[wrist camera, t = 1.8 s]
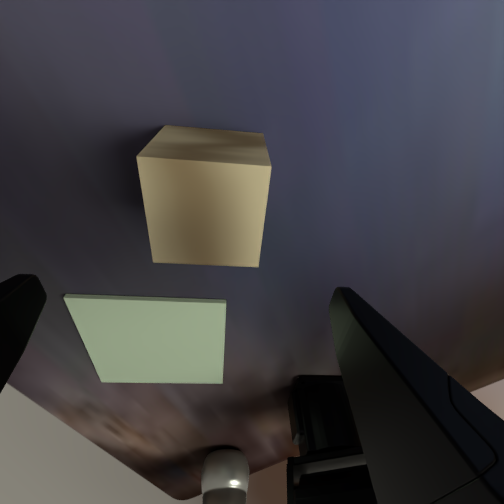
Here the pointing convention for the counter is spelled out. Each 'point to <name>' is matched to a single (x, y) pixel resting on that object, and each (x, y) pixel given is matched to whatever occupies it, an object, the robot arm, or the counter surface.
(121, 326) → the sage mat
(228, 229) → the beech block
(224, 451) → the silver ribbed metal bottle
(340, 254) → the counter surface
